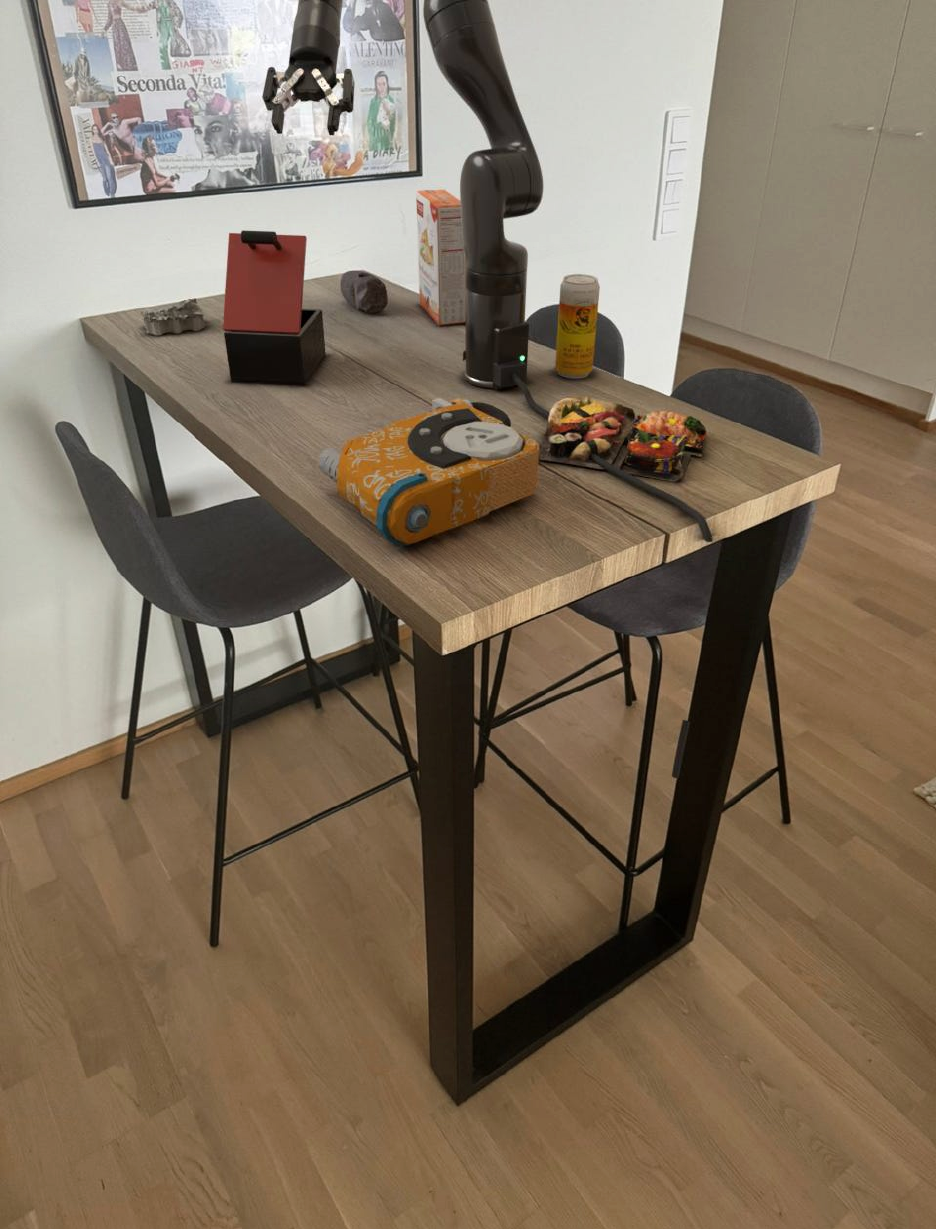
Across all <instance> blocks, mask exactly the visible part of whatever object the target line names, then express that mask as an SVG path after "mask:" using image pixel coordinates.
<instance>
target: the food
mask: <svg viewBox="0 0 936 1229" xmlns="http://www.w3.org/2000/svg"><path fill="white" fill-rule="evenodd" d="M549 412H550V415H549V419H548V418H547V419H548V420H547V422H548V423H547V427H546V430H545V433H544V437H543V439H542V441H541V449H540V451H539V458H538V460H540V461H548V462H554V463H562V464H569V465H576V466H581V467H587V468H593V469H598V470H600V469H601V470H605V469H604V468H602V467H601V466H600V465H598V464H596V463H595V462H593V461H592V460H591V459H590V456H591V454H596V455H597V456H599V457H600V458H602V459H603V460H605V461H606V462H608V463H610V464H611V465H612V464H613V462H614V460H615V459H616V458H617V455H618V453H619V452H620V449H621V448H622V445H623V443H624V442H625V441H626V442H627V446H626V451H625V454H624V456H623V459H622V462H621V465H620V466H619V469H620V470H622V471H624V472H626V473H628V474H630V475H635V476H639V477H640V476H642V477H645V478H646V477H647V478H651V479H657V480H662V481H667V482H673V483H674V482H677V481H679V480H680V479H681V478H683V477H684V475H685V471H686V469H687V466H688V464H689V461H690V458H691V457H692V456H696V457H700V458H701V457H702V456H703V445H704V442H705V440H706V439H707V428H706V426H705V425H704V424H703V423H702V421H701V420H700V419H698V418H696V417H693V416H692V415H687V416H685V415H684V414H683V415H682V414H679V413H676V412H674V411H669V412H668V411H667V410H663V411H652V412H649V413H647V414H645V415H643V414H642V415H641V414H639V415H637V416H636V412H635V411H634V409H633V408H631V407H627V406H625V405H623V404H619V403H614V402H608V401H603V400H600V399H596V398H593V397H590V396H589V395H587V396H585V397H565V398H562V399H561V400H559V401H557V402H555V403H554V404H553V406H552V407H551V409H550V411H549ZM691 455H692V456H691Z"/></svg>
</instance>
